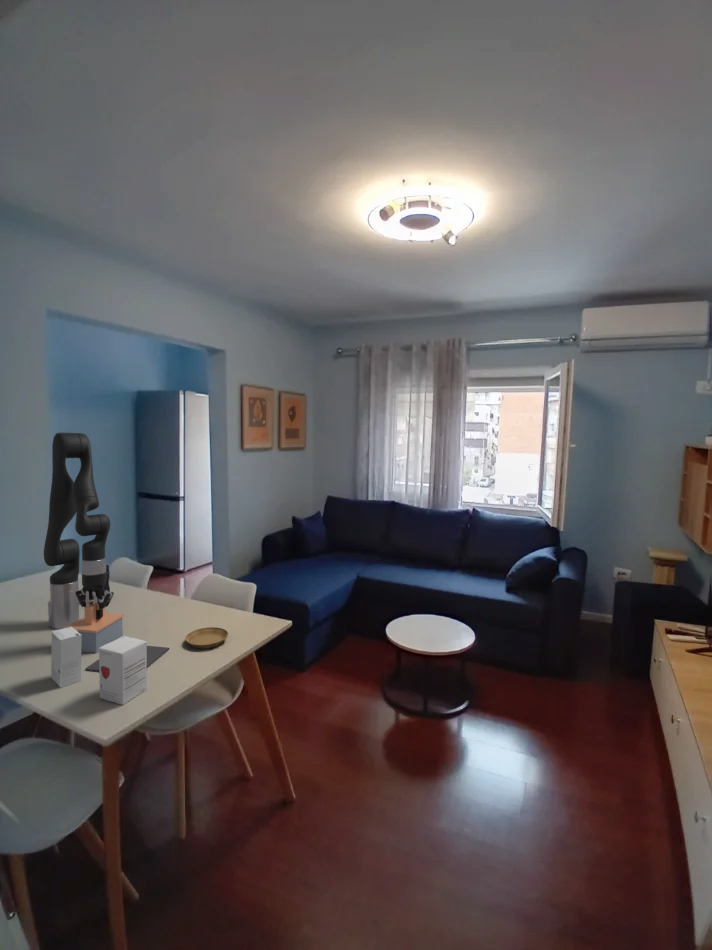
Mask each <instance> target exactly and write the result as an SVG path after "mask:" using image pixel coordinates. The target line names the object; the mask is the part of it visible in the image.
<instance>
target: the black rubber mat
mask: <svg viewBox="0 0 712 950" xmlns="http://www.w3.org/2000/svg"><path fill="white" fill-rule="evenodd" d="M169 650H170V647H168V646H167V647H165V646H155V645H147V669H148V668H149V667H151V666H152V665H153V664H154V663H155V662H156V661H157V660H159V659H160V658H161V657H162V656H163V655H165V654H166V653H167V652H169ZM151 664H152V665H151ZM86 670H92V671H91V672H96V671H99V658H98V659H97V660H96V661H94V662H92V663H91V664H90V665H88V666H87V667H86V668H85V671H86Z"/></svg>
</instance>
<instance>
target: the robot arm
mask: <svg viewBox="0 0 712 950" xmlns="http://www.w3.org/2000/svg"><path fill="white" fill-rule="evenodd" d="M51 453H52V455H51V458H52V459H51V460H52V464H51V465H52V468H51V469H52V474H51V485H50V494H49V503H48V506H49V509H48V523H47V530H46V534H45V535H46V536H45V539H44V540H45V541H44V547H43V560H44V563H45V564H46V566H49V567H55V566H61V568H60V569H57V570H56V571H54V572H52V574H51V575H50V576H49V593H50V595H49V596H50V597H49V598H50V601H48V603H47V605H48V606H47V607H48V608H47V613H48V627H50V628H52V629H55V630H60V629H64V628H65V627H67V626H68V625H70V624H72V623H74V622H76V621H78V620H80V606H81V607H82V608H85V607H87V606H89V605H91V604H93V603H95V604H96V609H97V610H96V620H99V619H101V618H102V617H103V608H105V609H106V608H107V607H109V605H110V603H111V601H112V598H113V596H114V594H115V593H114V592H113V591H110V592H109V591H107V588H106V586H105V585H106V565H107V561H106V543H107V541H108V540H107V539H108V535H109V532H110V529H111V520H110V517H109V516H108V515H106V514H105V513H99V514H89V515H88V514H87V513H88V512H91V511H94V510H96V509H97V508H99V507H100V501H99V498H98V493H97V489H96V485H95V479H94V465H93V455H92V446H91V441H90V438H89V437H88V436H87V435H86V433H82V432H79V433H78V432H56V433H55V434H54V436H53V439H52V449H51ZM67 459H79V460H80V468H79V471H78V474H77V476H76V477H75V480H73V479H72V477H71V476H70V474H69V472H68V469H67V465H66V463H67V462H66V461H67ZM75 515H76V517H75ZM74 517H75V523H74V524H75V526H74V527H75V531H76V534H77V535H79V536H80V537H89V536H95V537H94V538H93V539H91V540H90V541H86V542H84V543H83V544H82V546H81V550H80V546H79V545H80V544H79V542H78V541H77V540H76V539H74V538H67V539H61V538H62V534H63V532H64V530H65V528H66V527H67V526H68V524H69V523H70V522H71V521H72V519H73V518H74ZM80 551H81V552H80ZM80 553H81V554H80ZM80 555H81V558H82V559H81V586H82V588H81V589H79V574H80ZM104 594H105V596H103V595H104ZM104 597H105V599H104Z"/></svg>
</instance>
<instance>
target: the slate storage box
mask: <svg viewBox="0 0 712 950" xmlns="http://www.w3.org/2000/svg"><path fill="white" fill-rule="evenodd" d="M123 629H124V628H123V617H122V618H120V619H119V620H117V621H115V622H114V623H112V624H110V625H109V626H107V627H105V628H104V629H102V630H100V631H99V632H97V633H88V632H78V633H80V634H81V653H82V652H83V653H90V652H95V653H94V654H97V653H99V652H98V651H99V648H100V647H102V646H104V645H106V644H108V643H110V642H112V641H114V640H116V639H119V638H121V637H122V636H124V635H123V632H124V631H123Z"/></svg>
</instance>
